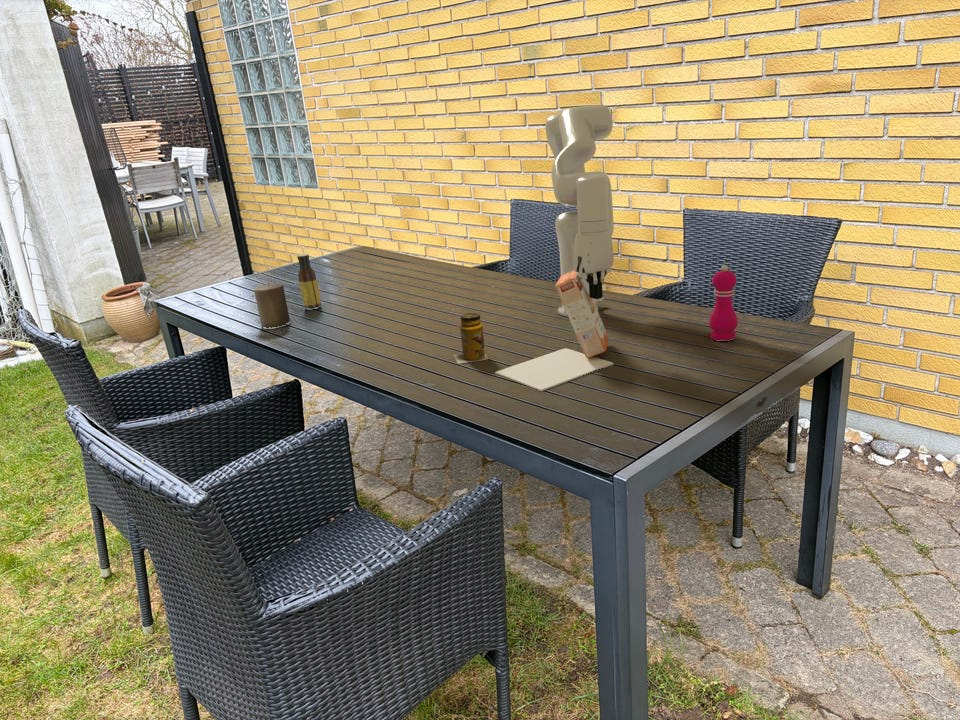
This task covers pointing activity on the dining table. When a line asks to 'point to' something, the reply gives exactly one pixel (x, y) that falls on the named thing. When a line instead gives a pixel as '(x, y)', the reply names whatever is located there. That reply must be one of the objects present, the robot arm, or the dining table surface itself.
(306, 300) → the sauce bottle
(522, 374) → the mat
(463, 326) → the condiment
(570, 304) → the cracker box
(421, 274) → the dining table surface
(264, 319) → the pillar candle
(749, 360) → the dining table surface
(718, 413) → the dining table surface
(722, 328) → the pepper mill
